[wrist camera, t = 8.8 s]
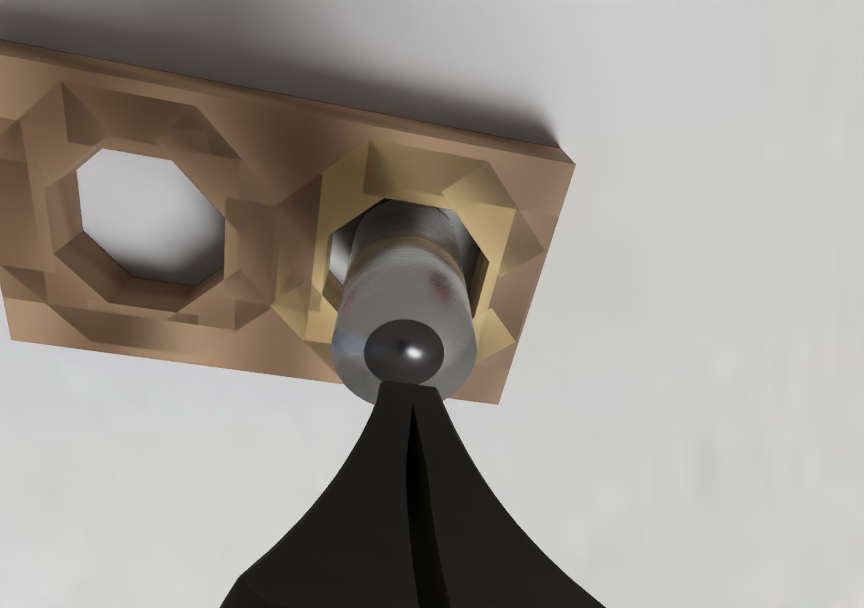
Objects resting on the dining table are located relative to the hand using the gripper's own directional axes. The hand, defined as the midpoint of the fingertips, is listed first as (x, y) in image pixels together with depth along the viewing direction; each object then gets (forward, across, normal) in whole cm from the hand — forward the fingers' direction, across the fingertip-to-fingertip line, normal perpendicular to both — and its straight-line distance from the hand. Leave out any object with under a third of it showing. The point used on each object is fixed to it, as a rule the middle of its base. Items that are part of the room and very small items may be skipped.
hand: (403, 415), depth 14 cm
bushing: (+9, 0, 0) cm, 9 cm away
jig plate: (+9, +4, 0) cm, 10 cm away
